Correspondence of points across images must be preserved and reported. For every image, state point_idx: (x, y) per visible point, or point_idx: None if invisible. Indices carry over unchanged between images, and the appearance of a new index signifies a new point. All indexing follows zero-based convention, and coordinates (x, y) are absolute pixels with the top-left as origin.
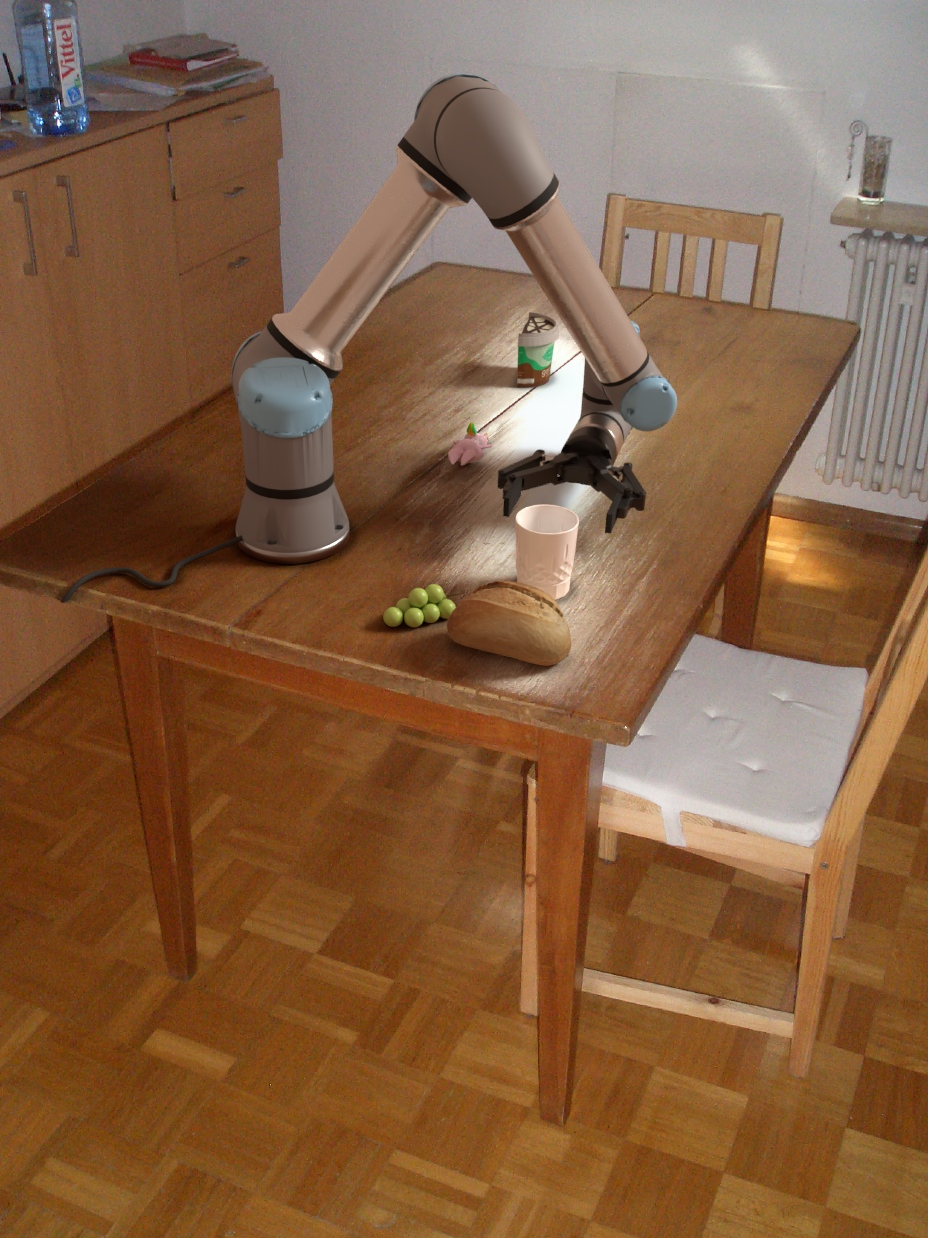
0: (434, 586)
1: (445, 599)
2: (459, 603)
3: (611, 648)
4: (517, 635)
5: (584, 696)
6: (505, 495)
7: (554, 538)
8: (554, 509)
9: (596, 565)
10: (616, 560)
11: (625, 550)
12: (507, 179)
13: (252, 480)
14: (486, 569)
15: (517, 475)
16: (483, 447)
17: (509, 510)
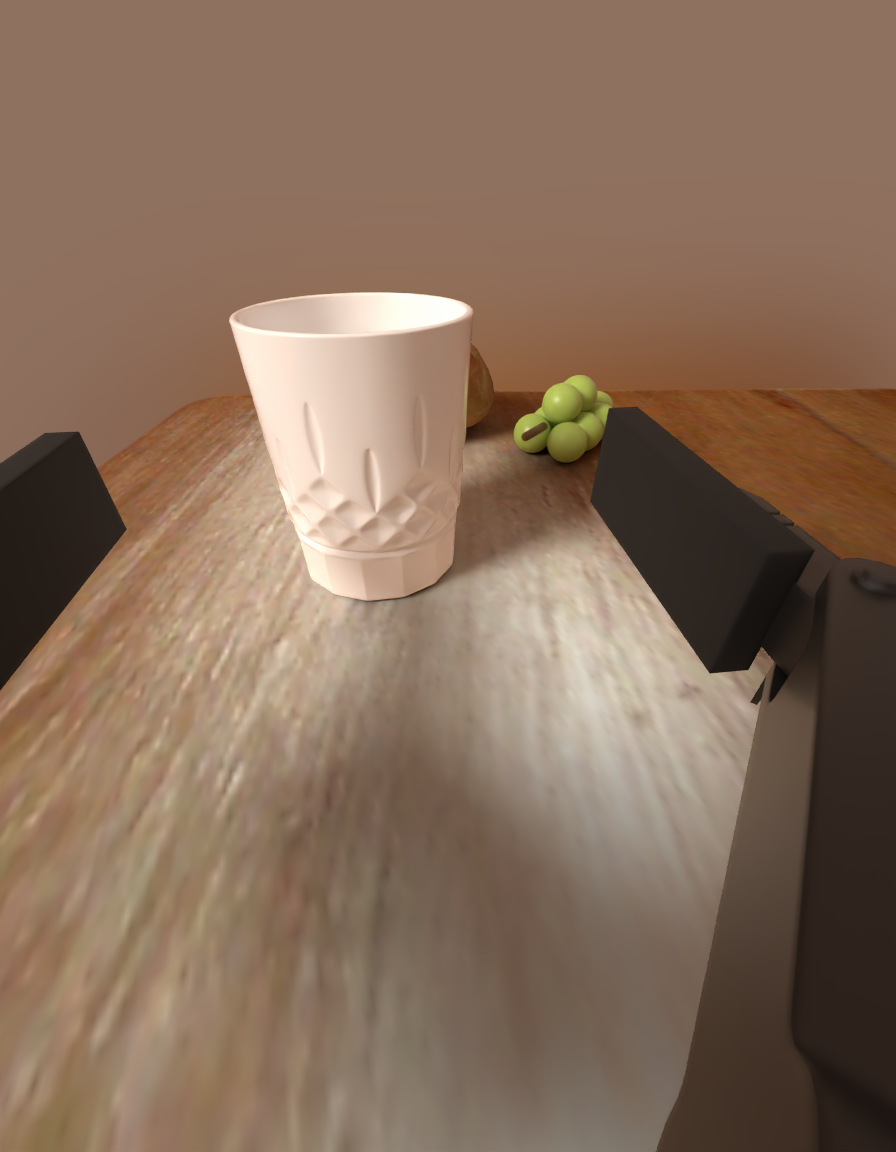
0: (561, 383)
1: (538, 416)
2: (482, 362)
3: (201, 467)
4: None
5: (253, 409)
6: (646, 416)
7: (314, 313)
8: (347, 350)
9: (214, 711)
10: (109, 783)
11: (21, 914)
12: None
13: None
14: (569, 573)
15: (851, 586)
16: None
17: (599, 482)
